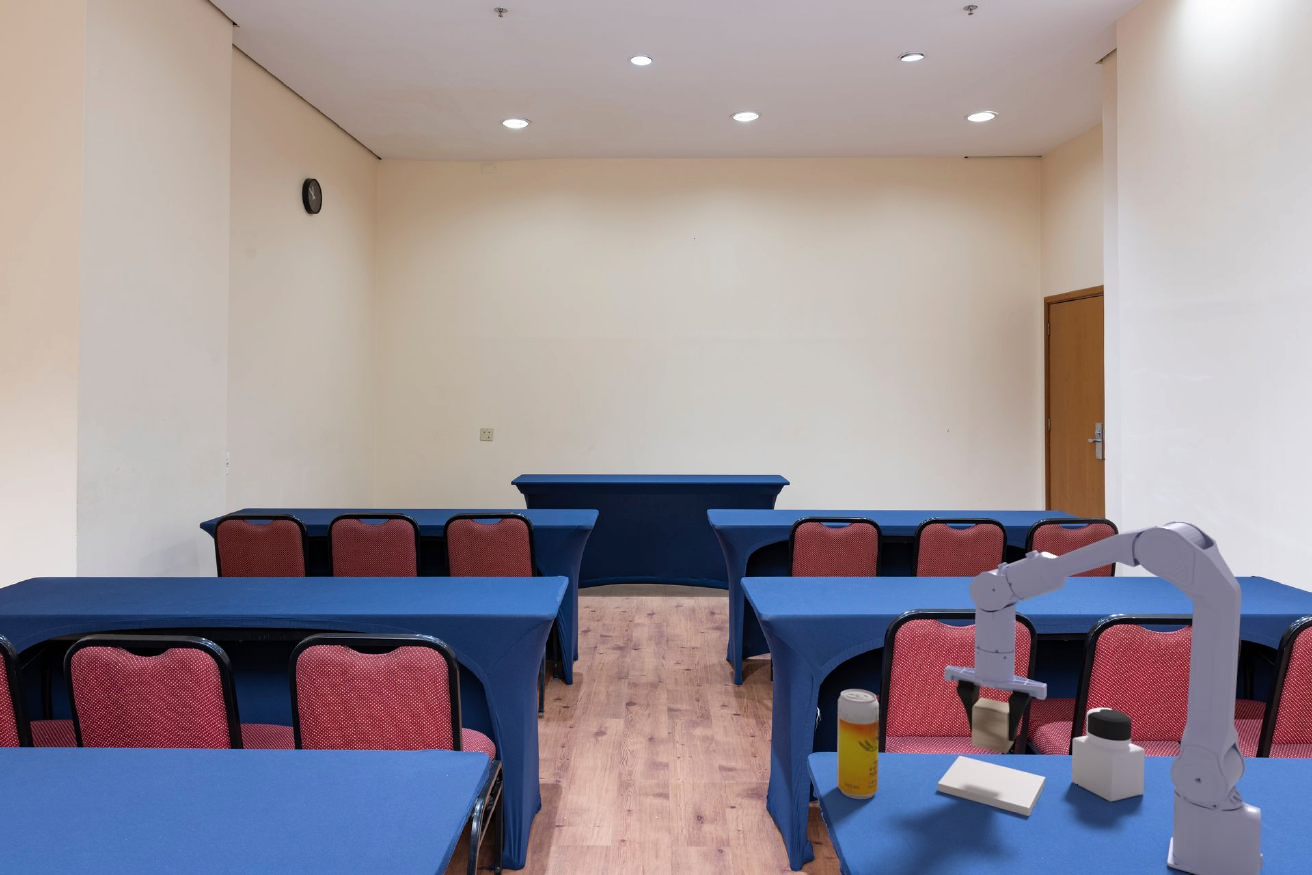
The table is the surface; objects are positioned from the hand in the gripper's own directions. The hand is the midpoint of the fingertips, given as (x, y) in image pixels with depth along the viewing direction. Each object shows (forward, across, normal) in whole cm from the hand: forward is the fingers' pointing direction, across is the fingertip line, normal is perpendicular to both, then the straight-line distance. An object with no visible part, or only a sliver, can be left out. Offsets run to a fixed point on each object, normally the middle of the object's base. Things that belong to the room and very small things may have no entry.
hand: (993, 734), depth 124 cm
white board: (+8, 0, 0) cm, 8 cm away
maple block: (+2, 0, 0) cm, 2 cm away
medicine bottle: (+9, +14, +10) cm, 20 cm away
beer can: (+9, -16, -14) cm, 23 cm away
